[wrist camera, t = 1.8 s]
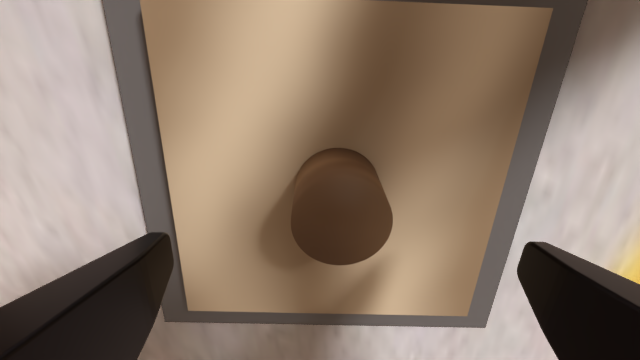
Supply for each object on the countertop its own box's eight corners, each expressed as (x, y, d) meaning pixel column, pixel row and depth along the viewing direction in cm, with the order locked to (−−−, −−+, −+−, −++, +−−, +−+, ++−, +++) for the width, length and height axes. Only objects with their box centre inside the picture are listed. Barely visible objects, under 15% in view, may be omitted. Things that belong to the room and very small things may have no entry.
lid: (537, 9, 11) (622, 3, 8) (460, 302, 16) (494, 368, 13) (150, -8, 11) (85, -19, 8) (194, 297, 16) (164, 363, 13)
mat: (592, -43, 11) (601, -45, 10) (481, 321, 17) (485, 327, 16) (97, -66, 10) (88, -69, 10) (168, 315, 16) (164, 321, 16)
